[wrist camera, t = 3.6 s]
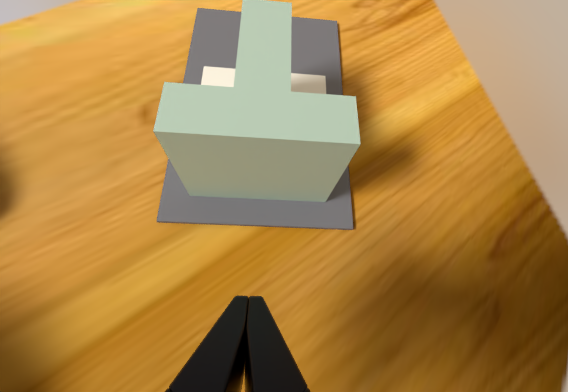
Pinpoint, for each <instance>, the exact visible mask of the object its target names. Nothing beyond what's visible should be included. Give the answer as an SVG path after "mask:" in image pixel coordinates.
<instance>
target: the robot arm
mask: <svg viewBox="0 0 568 392" xmlns="http://www.w3.org/2000/svg"><path fill="white" fill-rule="evenodd" d="M244 369H245V392H310V390H309V389H308V388H307V384H306V382H305V380H304V378H303V376H302V374H301V372H300V370H299V368H298V366H297V364H296V362H295V360H294V358H293V356H292V354H291V352H290V350H289V348H288V346H287V344H286V342H285V340H284V338H283V336H282V334H281V332H280V330H279V328H278V327H277V325H276V323H275V321H274V319H273V317H272V315H271V313H270V311H269V309H268V307H267V305H266V303H265V301H264V299H263V297H261V296H250V297H249V298H248V296H235V297H234V298H233V300H232V301H231V302H230V304H229V305H228V307H227V308H226V309H225V311H224V312H223V313H222V315H221V316H220V317H219V319H218V320H217V322H216V323H215V324H214V326H213V327H212V328H211V330H210V331H209V332H208V334H207V335H206V337H205V338H204V339H203V341H202V342H201V343H200V345H199V346H198V348H197V349H196V350H195V352H194V353H193V354H192V356H191V357H190V358H189V360H188V361H187V363H186V364H185V365H184V367H183V368H182V369H181V371H180V372H179V373H178V375H177V376H176V378H175V379H174V380H173V382H172V383H171V384H170V386H169V388H168V389H167V390H166V391H165V392H241V389H242V383H243V377H244Z"/></svg>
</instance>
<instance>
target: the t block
mask: <svg viewBox="0 0 568 392" xmlns="http://www.w3.org/2000/svg"><path fill="white" fill-rule="evenodd" d="M291 22H292V3H286V2H276V1H266V0H243V3H242V12H241V22H240V31H239V41H238V50H237V60H236V69H235V78H234V87H224V86H211V85H197V84H184V83H170V82H164V86H163V91H162V95H161V100H160V104H159V108H158V113H157V117H156V122H155V126H154V131H153V132H154V133H155V135H156V137H157V139H158V140H159V142H160V144H161V146H162V147H163V149H164V151H165V153H166V155H167V156H168V158H169V160H170V162H171V163H172V165H173V167H174V169H175V170H176V172H177V174H178V176H179V177H180V179H181V181H182V183H183V185H184V186H185V188H186V190H187V192H188V193H189V195H190V196H205V197H226V198H248V199H269V200H291V201H312V202H326V200H327V199H328V197H329V195H330V194H331V192H332V190H333V189H334V187H335V185H336V184H337V182H338V180H339V179H340V177H341V176H342V174H343V172H344V171H345V169H346V167H347V166H348V164H349V162H350V161H351V159H352V157H353V156H354V154H355V153H356V151H357V149H358V148H359V146H360V144H361V143H360V133H359V123H358V113H357V104H356V96H344V95H331V94H318V93H304V92H291Z"/></svg>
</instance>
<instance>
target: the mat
mask: <svg viewBox="0 0 568 392" xmlns="http://www.w3.org/2000/svg"><path fill="white" fill-rule="evenodd" d="M240 22H241V12H235V11H225V10H214V9H204V8H198V9H197V14H196V19H195V25H194V30H193V35H192V40H191V45H190V50H189V56H188V61H187V66H186V71H185V76H184V81H183V83H184V84H197V85H211V86H224V87H234V78H235V69H236V60H237V50H238V41H239V31H240ZM291 92H304V93H318V94H331V95H343V92H342V79H341V67H340V54H339V41H338V29H337V21H331V20H320V19H310V18H299V17H292V22H291ZM157 222H164V223H189V224H215V225H240V226H265V227H291V228H316V229H341V230H353V218H352V205H351V193H350V180H349V168H348V166H347V167H346V169H345V171H344V172H343V174H342V176H341V177H340V179H339V180H338V182H337V184H336V185H335V187H334V189H333V190H332V192H331V194H330V195H329V197H328V199H327V200H326V202H312V201H291V200H269V199H248V198H226V197H205V196H190V195H189V193H188V192H187V190H186V188H185V186H184V185H183V183H182V181H181V179H180V177H179V176H178V174H177V172H176V170H175V169H174V167H173V165H172V163H171V162H170V160H169V159H168V164H167V169H166V174H165V180H164V185H163V190H162V195H161V200H160V205H159V211H158V216H157Z"/></svg>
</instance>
